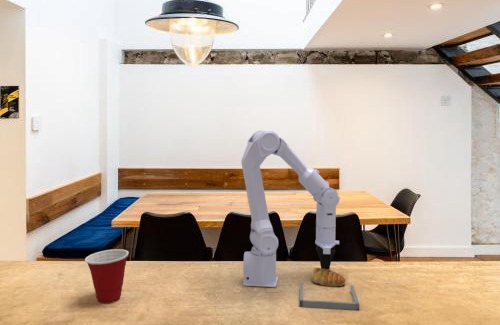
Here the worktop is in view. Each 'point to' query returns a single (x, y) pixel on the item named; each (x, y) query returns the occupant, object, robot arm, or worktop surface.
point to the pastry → (327, 277)
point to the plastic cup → (107, 273)
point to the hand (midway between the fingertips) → (325, 270)
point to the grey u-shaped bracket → (330, 302)
